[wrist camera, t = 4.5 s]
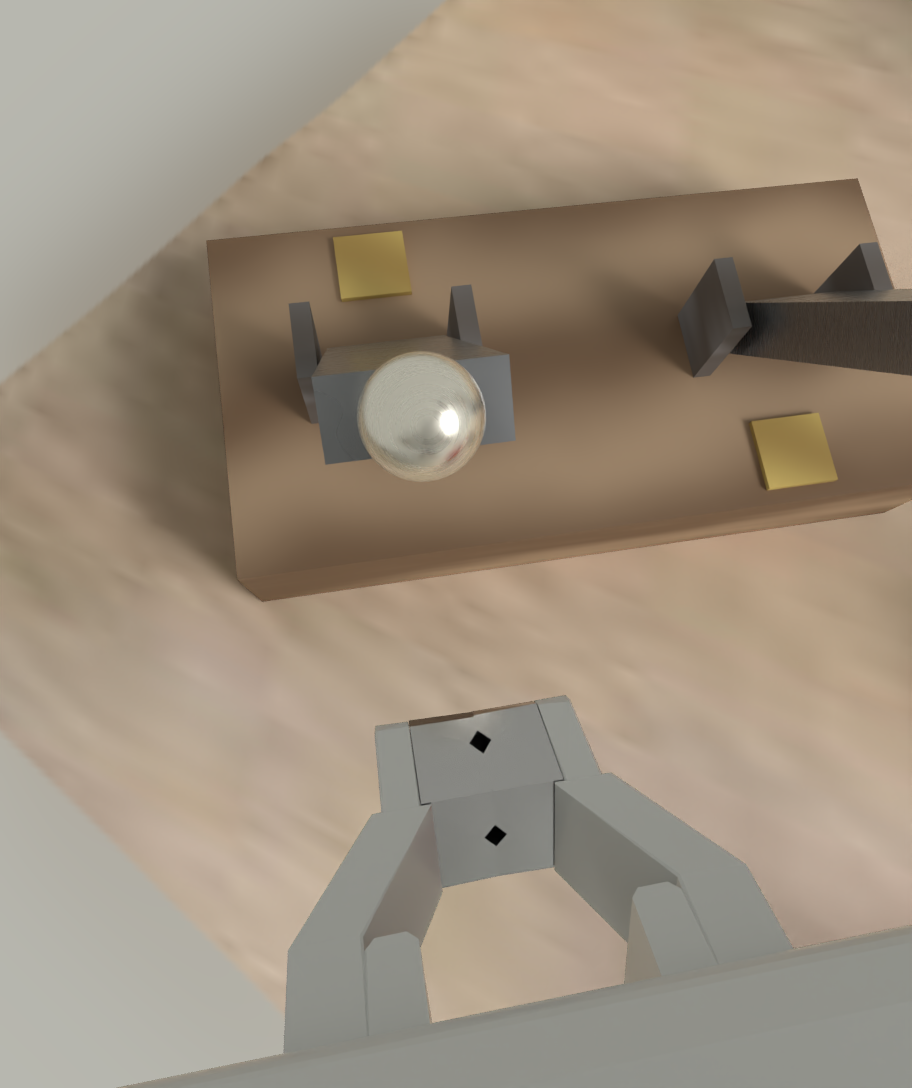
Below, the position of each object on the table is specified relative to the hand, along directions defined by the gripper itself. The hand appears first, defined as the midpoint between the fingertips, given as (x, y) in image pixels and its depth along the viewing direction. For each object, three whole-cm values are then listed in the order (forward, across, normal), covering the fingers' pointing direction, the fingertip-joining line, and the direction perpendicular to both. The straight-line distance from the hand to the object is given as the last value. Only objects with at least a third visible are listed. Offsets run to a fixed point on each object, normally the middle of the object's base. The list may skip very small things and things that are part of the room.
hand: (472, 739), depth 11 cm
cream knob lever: (+15, 0, -1) cm, 15 cm away
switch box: (+19, -6, +2) cm, 20 cm away
